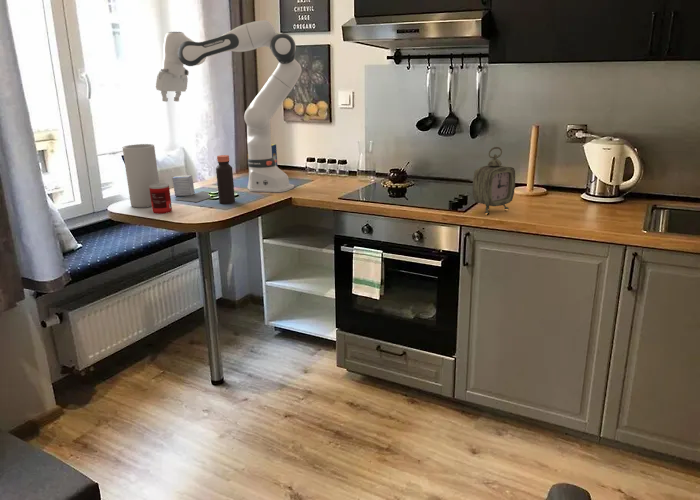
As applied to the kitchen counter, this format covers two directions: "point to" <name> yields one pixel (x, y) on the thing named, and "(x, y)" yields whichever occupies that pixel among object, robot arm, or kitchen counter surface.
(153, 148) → the cylinder vase
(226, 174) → the bottle
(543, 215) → the kitchen counter surface
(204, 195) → the mat
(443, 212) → the kitchen counter surface
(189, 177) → the medicine box
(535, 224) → the kitchen counter surface
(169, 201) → the canned food
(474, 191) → the tabletop clock
